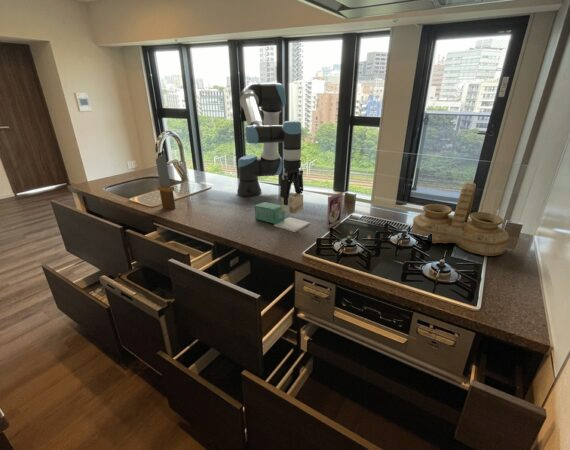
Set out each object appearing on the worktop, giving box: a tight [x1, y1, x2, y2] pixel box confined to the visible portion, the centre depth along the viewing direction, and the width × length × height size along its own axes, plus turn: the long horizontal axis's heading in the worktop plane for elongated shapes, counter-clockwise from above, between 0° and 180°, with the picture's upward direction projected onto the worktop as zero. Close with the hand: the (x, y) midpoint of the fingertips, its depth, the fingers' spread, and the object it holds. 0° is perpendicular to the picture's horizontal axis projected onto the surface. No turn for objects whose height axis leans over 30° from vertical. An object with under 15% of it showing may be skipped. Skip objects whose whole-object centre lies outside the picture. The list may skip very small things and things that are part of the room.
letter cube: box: [281, 191, 304, 214], centre depth 136 cm, size 7×7×7 cm
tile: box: [273, 217, 311, 233], centre depth 140 cm, size 12×12×1 cm
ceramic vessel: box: [411, 181, 510, 257], centre depth 117 cm, size 34×18×25 cm, turn 53°
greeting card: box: [326, 190, 344, 229], centre depth 139 cm, size 11×7×15 cm, turn 137°
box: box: [254, 201, 286, 225], centre depth 144 cm, size 7×14×8 cm, turn 50°
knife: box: [155, 153, 176, 211], centre depth 158 cm, size 8×4×30 cm, turn 62°
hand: (292, 209), depth 137 cm, fingers closed on letter cube, 7 cm apart
